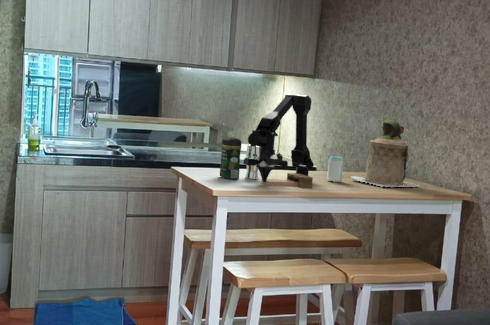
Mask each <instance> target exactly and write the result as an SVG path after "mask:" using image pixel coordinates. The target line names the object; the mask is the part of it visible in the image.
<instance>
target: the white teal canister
mask: <svg viewBox="0 0 490 325" xmlns="http://www.w3.org/2000/svg"><path fill="white" fill-rule="evenodd" d="M327 164H328V165H327V176H326V180H327V181H328V182H329V181H334V182H333V183H337V182H339V183H342V181H343V170H344V159H343V157H342V156H337V155H336V156H335V155H331V156H330V157H329V159H328V163H327Z"/></svg>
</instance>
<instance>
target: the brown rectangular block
mask: <svg viewBox="0 0 490 325" xmlns="http://www.w3.org/2000/svg"><path fill="white" fill-rule="evenodd" d="M286 174H287V176H286V180H294V181H297V182H299V184H298V186H297V187H298V188H313V180H314V179H313V176H309V175H308V176H306V175H303V174H300V173H296V172H287V173H286Z"/></svg>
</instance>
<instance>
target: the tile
mask: <svg viewBox="0 0 490 325" xmlns="http://www.w3.org/2000/svg"><path fill="white" fill-rule="evenodd" d="M261 183H262V184H263V185H264V184H265V185H267V186H278V187H279V186H280V187H284V186H285V187H298V184H299V182H297V181H294V180H287V179H277V178H274V179H273V178H267V180H266V182H263V181H262V180H261Z"/></svg>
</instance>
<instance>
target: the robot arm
mask: <svg viewBox="0 0 490 325" xmlns="http://www.w3.org/2000/svg"><path fill="white" fill-rule="evenodd" d="M291 108H292V110H293V111H294V113H295V146H294V147H293V149H291V150H290V153H291V154H290V159H291V165H292V167H294V168H296V169H295V173H300V174H303V175H306V176H309V170H312V169H314V165H315V164H314V162H313V159H312V158H311V151H310V149H309V148H308V145H307V142H308V140H307V139H308V135H307V132H308V114H309V113H310V110H311V108H312V98H311V97H310V96H309V95H304V94H303V95H302V94H293V93H287V94H285V96H284V98H283V99H282V100H281V101H280V102H279V104H277V106H276V107H275V109H273V110H272V111H271V112H269V113H267V114H264V116H262V117H261V119H260V121H259V122H258V124H257V126H256V128H255V129H253V130H252V133H250V134H249V135H248V137H247V143H248V145H251V146H261V148H259V150H260V157H259V158H258V159H259V160H257V159H254V158H246V157H244V159H243V164H244V165H246V166H247V165H252V166H255V165H256V164H257V165H256V167H258V172H259V174H260V177H261V182H262V181H263V182H266V180H267V179H268V178H269V175H270V173H271V171H273V170H274V169H276V167H277V166H280V167H281V168H288V167H289V163H288V161H287V160H286V159H284V158H283V154H281V153H278V154H276V150H275V142H276V141H275V140H276V139H275V138H276V137H278V136H279V135H278V133H277V132H276V131H277V130H278V128H279V127H280V126H281V124H282V123H281V121H282V119H283V117H285V115H286V114H287V113H288V112H289V110H290V109H291ZM275 166H276V167H275Z"/></svg>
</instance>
